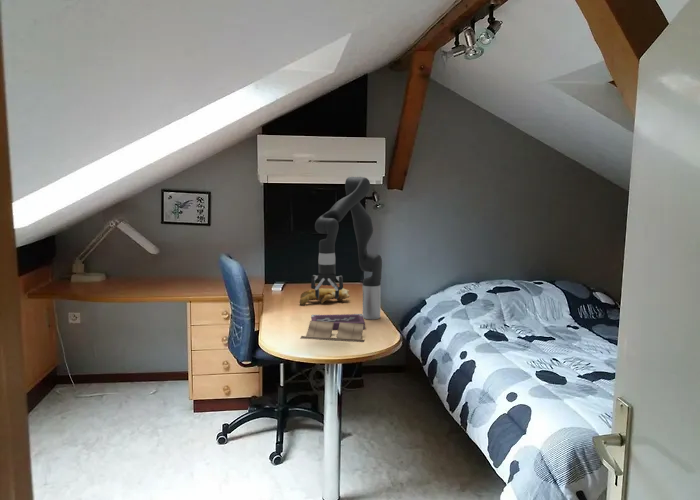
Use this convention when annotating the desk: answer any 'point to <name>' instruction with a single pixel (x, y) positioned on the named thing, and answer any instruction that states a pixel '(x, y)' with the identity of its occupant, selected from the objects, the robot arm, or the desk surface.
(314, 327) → the plank
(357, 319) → the purple gear tray
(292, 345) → the desk surface
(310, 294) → the toy
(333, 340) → the strip
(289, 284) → the desk surface
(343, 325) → the plank
